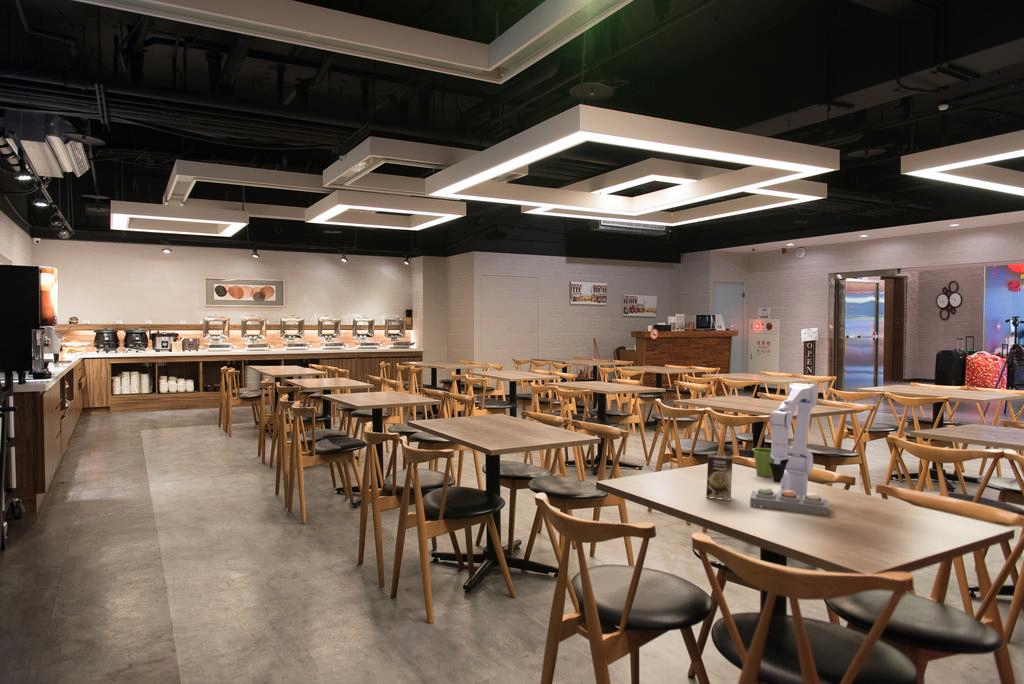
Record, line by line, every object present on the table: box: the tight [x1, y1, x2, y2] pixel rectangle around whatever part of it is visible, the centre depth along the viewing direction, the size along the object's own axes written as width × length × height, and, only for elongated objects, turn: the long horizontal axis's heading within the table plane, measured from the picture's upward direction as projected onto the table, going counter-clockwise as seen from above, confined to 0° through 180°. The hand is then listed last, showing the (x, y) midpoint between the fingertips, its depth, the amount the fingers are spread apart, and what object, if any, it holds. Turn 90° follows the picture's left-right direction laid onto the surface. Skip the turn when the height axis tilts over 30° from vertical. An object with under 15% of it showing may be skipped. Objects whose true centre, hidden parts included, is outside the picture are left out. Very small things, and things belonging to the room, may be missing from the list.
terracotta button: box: [783, 490, 796, 497], centre depth 234 cm, size 4×4×2 cm
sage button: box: [758, 486, 773, 494], centre depth 238 cm, size 4×4×2 cm
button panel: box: [749, 489, 830, 517], centre depth 234 cm, size 26×11×4 cm, turn 66°
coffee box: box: [705, 453, 733, 500], centre depth 245 cm, size 9×6×16 cm
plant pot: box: [751, 447, 773, 478], centre depth 282 cm, size 12×12×11 cm
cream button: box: [806, 492, 821, 500], centre depth 231 cm, size 4×4×2 cm
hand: (778, 480), depth 236 cm, fingers open, 7 cm apart
